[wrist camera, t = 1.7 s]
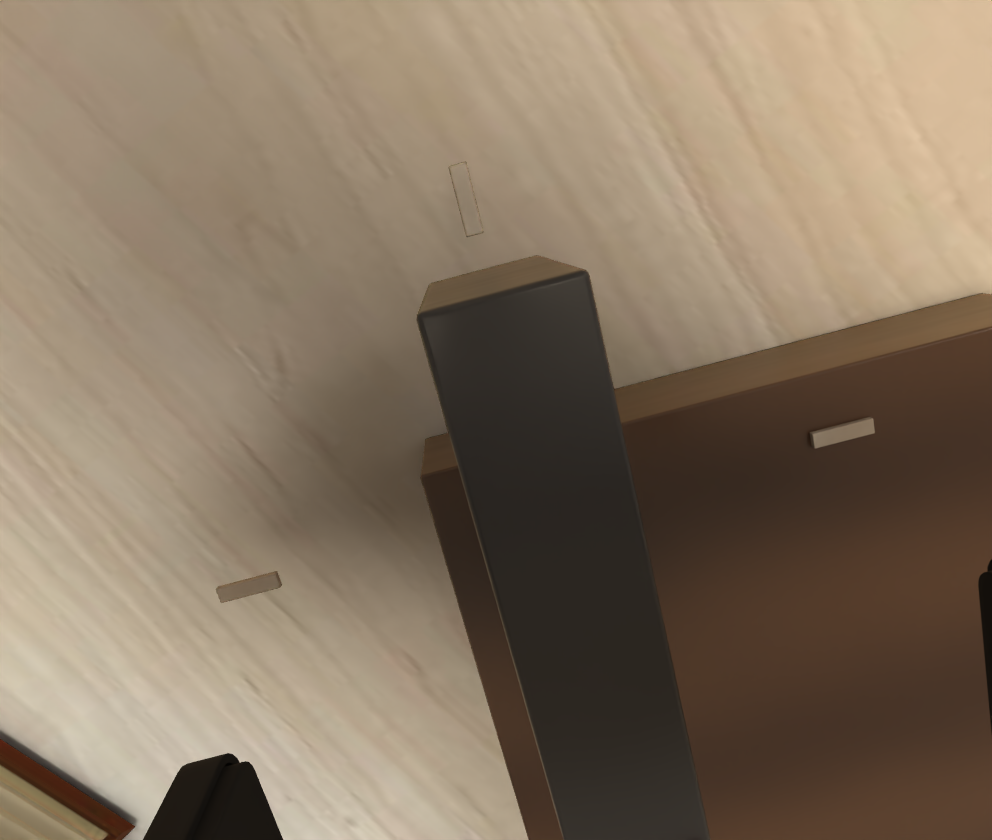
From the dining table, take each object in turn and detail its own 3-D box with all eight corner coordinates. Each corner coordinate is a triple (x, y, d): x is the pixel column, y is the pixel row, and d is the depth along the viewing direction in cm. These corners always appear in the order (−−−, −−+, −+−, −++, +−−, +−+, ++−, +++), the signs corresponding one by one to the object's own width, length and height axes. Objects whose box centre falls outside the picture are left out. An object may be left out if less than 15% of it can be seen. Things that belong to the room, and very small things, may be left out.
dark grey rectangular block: (427, 283, 15) (413, 315, 9) (540, 253, 15) (592, 268, 9) (548, 723, 18) (592, 947, 12) (643, 699, 18) (729, 912, 12)
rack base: (149, 256, 17) (84, 261, 14) (964, 40, 17) (1075, 0, 14) (423, 988, 24) (418, 1101, 21) (1021, 835, 24) (1106, 926, 20)
